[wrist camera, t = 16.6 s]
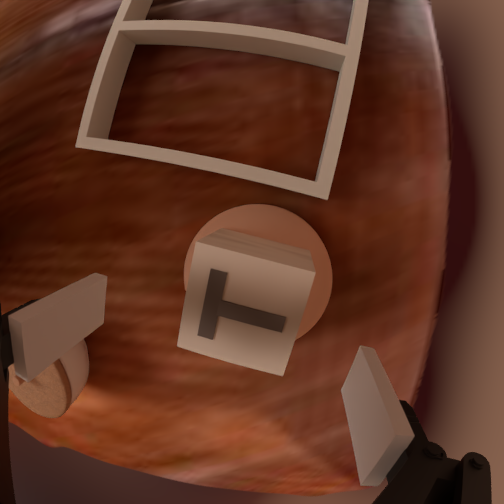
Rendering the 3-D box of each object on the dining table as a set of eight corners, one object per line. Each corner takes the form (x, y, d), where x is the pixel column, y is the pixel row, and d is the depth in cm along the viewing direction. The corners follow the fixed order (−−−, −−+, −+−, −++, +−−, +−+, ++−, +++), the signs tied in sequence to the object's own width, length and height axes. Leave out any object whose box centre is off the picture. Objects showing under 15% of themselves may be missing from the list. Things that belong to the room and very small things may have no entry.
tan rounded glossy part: (306, 354, 28) (307, 363, 27) (179, 319, 29) (173, 326, 27) (347, 225, 26) (350, 227, 24) (205, 188, 26) (200, 188, 25)
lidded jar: (37, 284, 31) (-21, 310, 22) (110, 325, 30) (56, 367, 21) (35, 357, 33) (-12, 390, 24) (101, 398, 32) (59, 444, 23)
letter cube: (286, 331, 26) (282, 376, 19) (204, 309, 27) (176, 347, 20) (309, 250, 25) (315, 272, 18) (221, 227, 25) (195, 241, 18)
